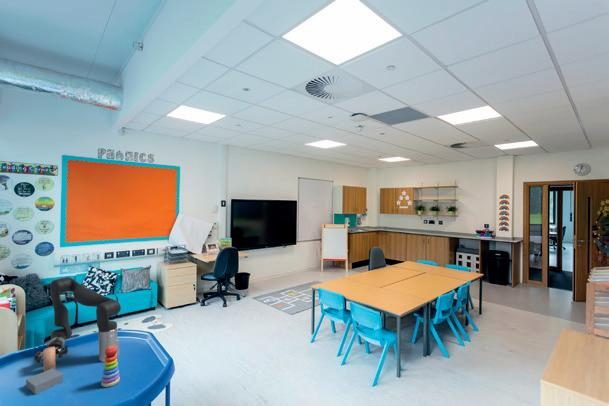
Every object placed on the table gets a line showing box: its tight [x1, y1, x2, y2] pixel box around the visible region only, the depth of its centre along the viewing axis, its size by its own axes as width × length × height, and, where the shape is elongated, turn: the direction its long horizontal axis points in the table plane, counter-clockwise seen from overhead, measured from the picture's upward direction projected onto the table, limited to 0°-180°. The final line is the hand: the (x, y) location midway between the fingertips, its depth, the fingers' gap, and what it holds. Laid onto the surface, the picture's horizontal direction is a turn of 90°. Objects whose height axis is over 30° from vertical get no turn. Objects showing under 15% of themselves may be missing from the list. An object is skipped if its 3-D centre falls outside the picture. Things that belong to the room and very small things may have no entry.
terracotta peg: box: [42, 347, 57, 372], centre depth 163 cm, size 5×5×12 cm
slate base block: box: [25, 368, 64, 395], centre depth 152 cm, size 11×11×4 cm
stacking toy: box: [100, 346, 121, 388], centre depth 153 cm, size 8×8×19 cm
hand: (48, 359), depth 162 cm, fingers open, 8 cm apart
